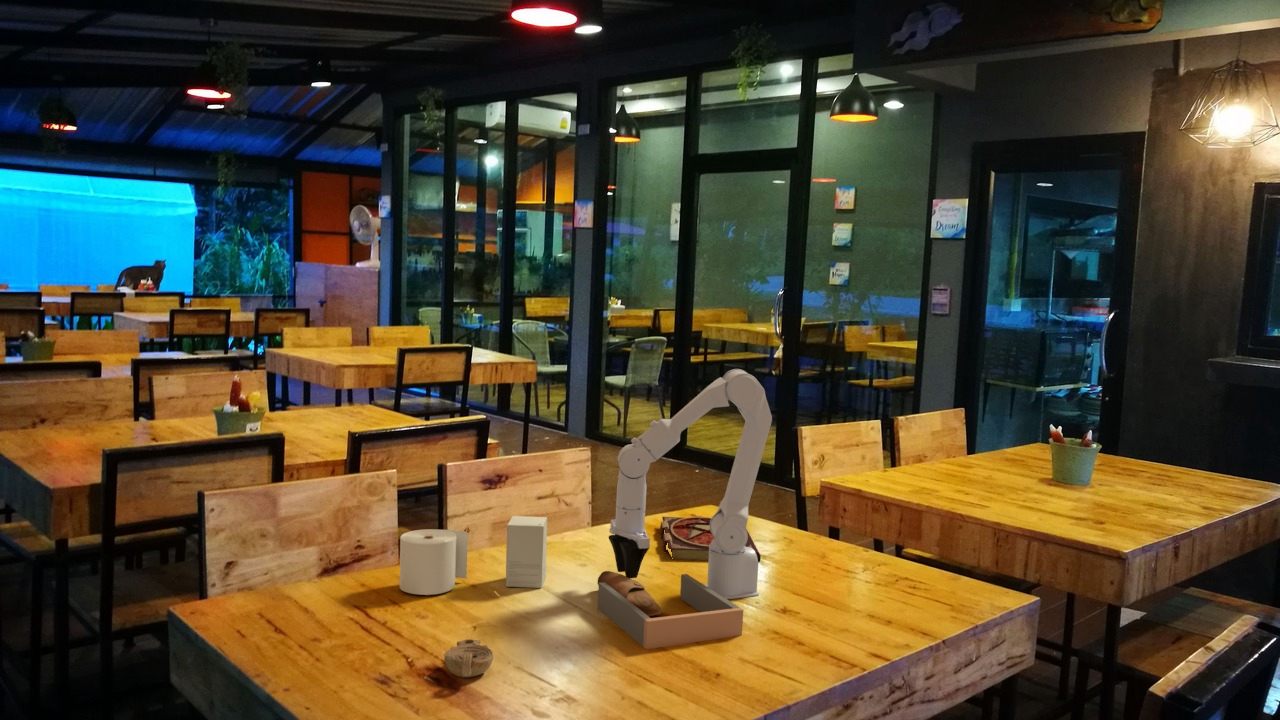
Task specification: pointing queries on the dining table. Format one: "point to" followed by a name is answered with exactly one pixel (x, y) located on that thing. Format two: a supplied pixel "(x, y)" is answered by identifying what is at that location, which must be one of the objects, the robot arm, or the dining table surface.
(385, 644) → the dining table surface
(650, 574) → the dining table surface
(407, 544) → the toilet tissue
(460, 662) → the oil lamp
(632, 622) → the open rectangular frame
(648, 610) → the sunglasses case
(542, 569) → the supplement box
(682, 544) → the book
